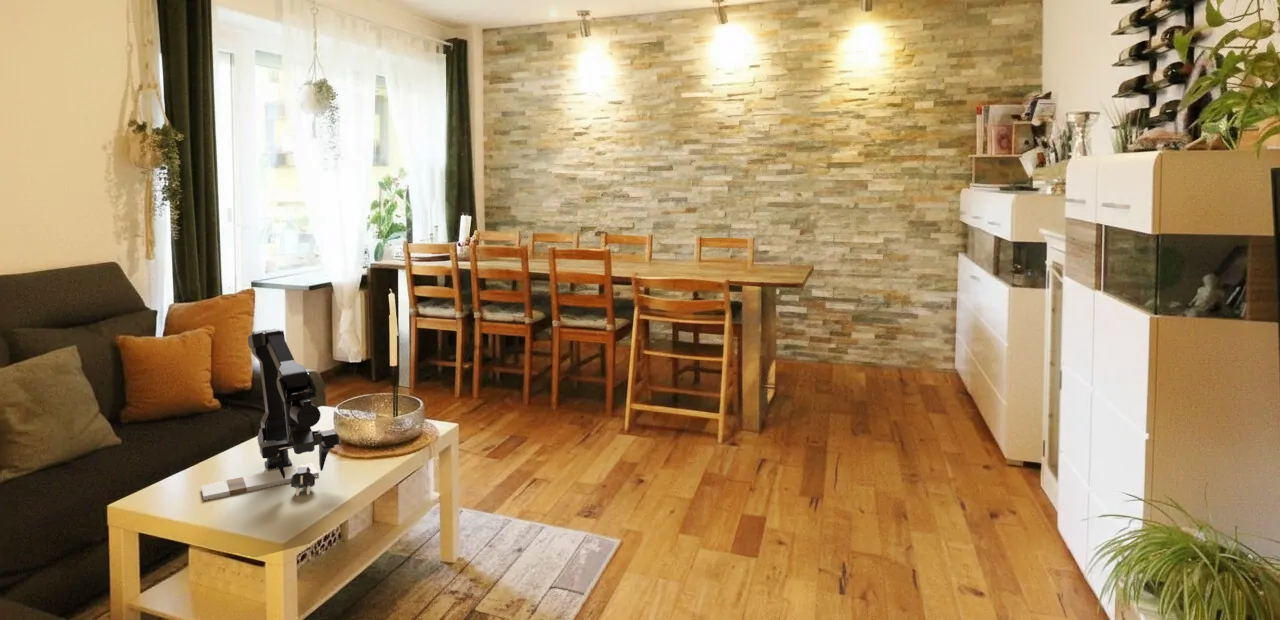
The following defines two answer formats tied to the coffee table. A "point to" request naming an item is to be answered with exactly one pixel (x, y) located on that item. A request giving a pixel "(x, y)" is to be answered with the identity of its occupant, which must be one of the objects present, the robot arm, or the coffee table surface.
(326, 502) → the coffee table surface
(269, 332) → the robot arm
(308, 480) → the power plug
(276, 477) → the board
